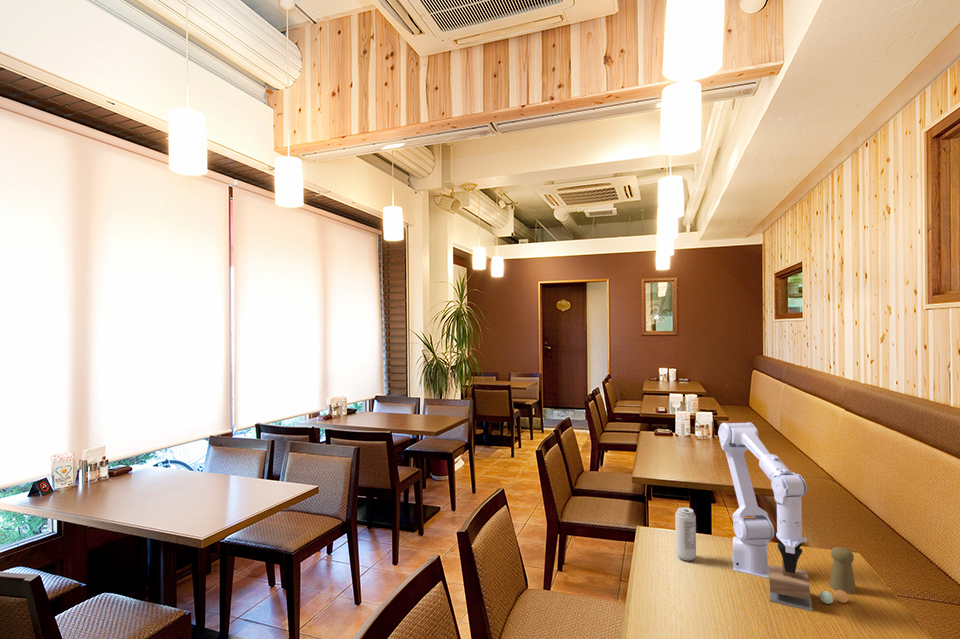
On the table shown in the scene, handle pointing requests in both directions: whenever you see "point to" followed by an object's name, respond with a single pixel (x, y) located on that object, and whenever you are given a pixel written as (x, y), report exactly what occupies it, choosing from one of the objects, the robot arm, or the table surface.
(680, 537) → the energy drink can
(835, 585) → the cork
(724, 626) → the table surface
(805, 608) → the plate
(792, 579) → the walnut cover
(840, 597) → the terracotta ball
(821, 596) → the mint ball
